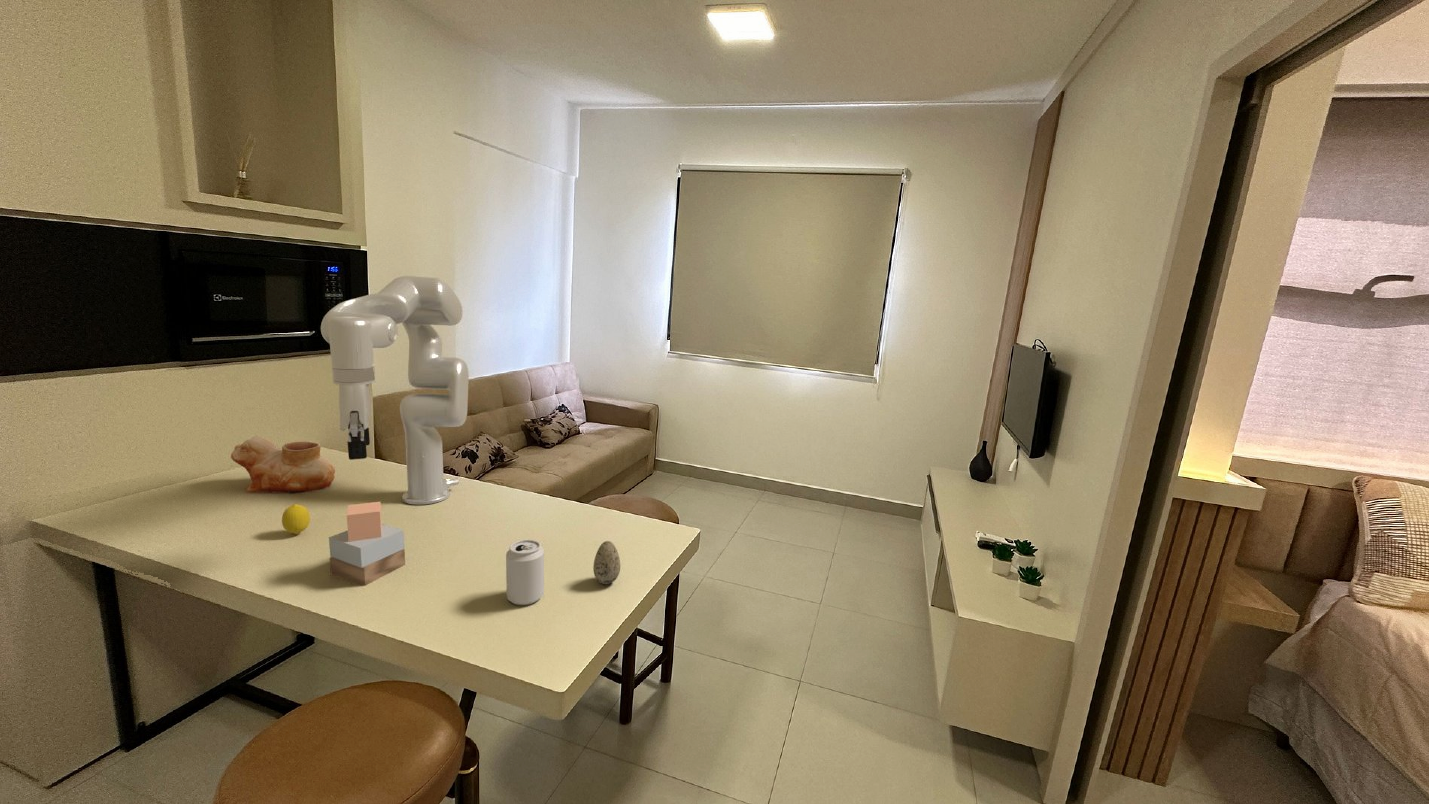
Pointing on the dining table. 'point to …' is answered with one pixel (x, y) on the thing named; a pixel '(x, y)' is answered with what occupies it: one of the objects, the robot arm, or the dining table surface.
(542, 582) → the can
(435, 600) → the dining table surface
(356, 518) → the block
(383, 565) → the tower base
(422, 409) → the robot arm
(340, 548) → the tower top
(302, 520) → the lemon
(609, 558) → the decorative egg
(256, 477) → the ceramic vessel
